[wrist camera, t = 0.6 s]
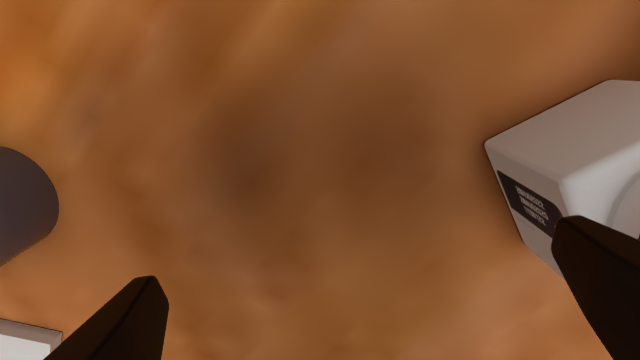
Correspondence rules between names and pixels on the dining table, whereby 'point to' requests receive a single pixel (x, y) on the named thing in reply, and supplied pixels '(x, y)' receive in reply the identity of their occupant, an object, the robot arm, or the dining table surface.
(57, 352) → the robot arm
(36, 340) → the tray
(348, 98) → the dining table surface
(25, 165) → the blue cylinder
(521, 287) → the dining table surface
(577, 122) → the container
